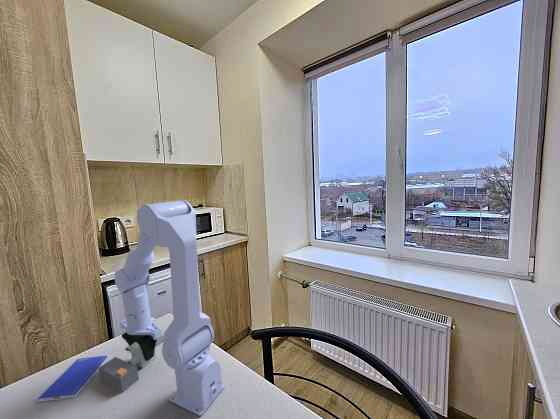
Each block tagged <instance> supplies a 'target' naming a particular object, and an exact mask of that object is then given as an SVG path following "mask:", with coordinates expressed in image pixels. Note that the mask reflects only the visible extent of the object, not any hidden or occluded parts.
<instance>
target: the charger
mask: <svg viewBox="0 0 560 419" xmlns="http://www.w3.org/2000/svg"><path fill="white" fill-rule="evenodd" d="M130 347H131V350H130V352H131V358H130V359H128V360H127V362H128V363H130V364H133V365H135V366H137V368H138V367H139V368H141V369H144V368H145V367H146V366H148V365H149V364H151V363H152V362H153V361H154V360H156V359H157V354H156V351H155V352H154V357H152V358H151V359H150V360H149V361H146V360H145V358H144V356H143V352H142V349H141V347H140V346H139V344H138V343H137V342H135V343H133V344H132V345H130Z"/></svg>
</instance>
